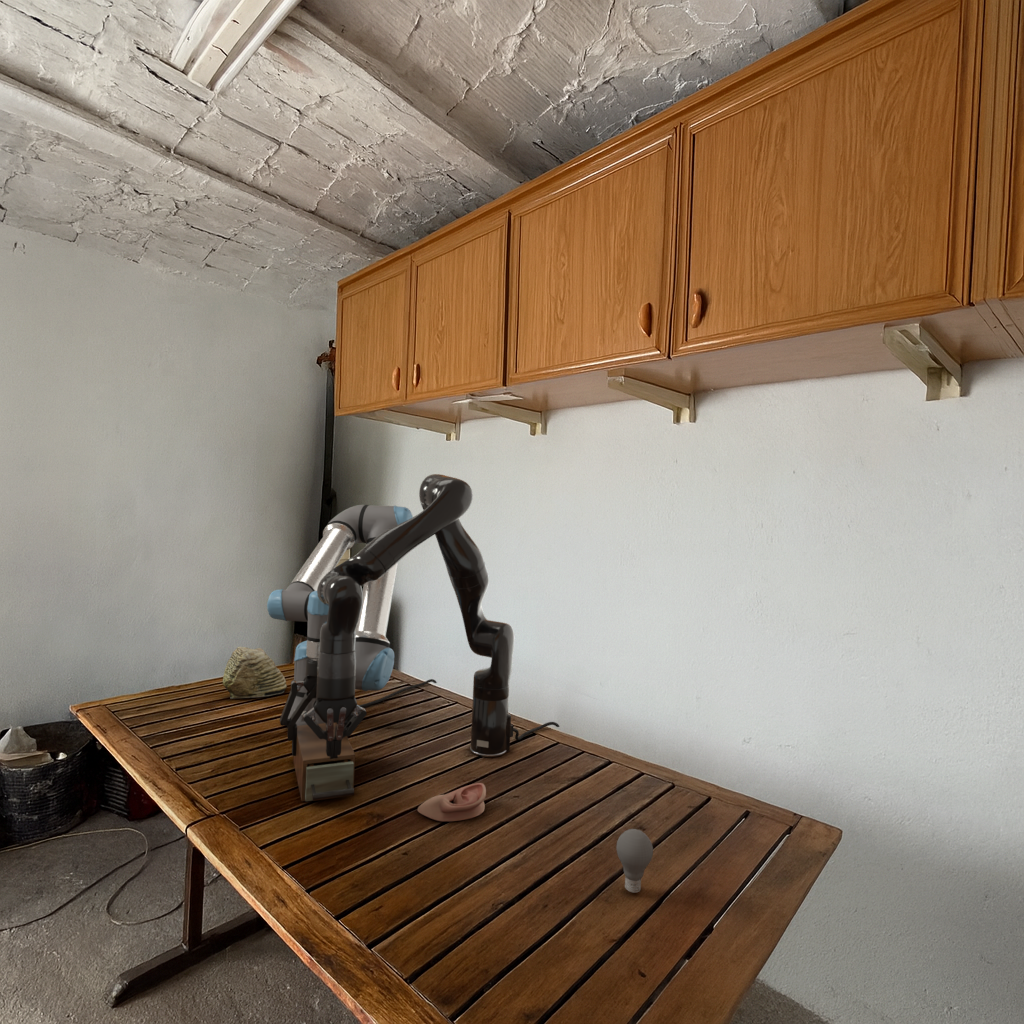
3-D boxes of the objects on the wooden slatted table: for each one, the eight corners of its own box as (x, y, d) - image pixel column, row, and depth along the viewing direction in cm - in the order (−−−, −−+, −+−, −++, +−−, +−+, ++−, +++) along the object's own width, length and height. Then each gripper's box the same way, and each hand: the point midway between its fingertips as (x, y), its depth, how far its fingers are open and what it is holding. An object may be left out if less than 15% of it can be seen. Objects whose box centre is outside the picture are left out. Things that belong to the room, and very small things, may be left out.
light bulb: (610, 879, 108) (613, 822, 108) (644, 879, 109) (647, 822, 109) (619, 902, 102) (622, 840, 102) (655, 901, 103) (658, 840, 103)
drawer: (357, 807, 128) (358, 774, 128) (308, 814, 124) (309, 781, 124) (339, 758, 151) (340, 730, 151) (297, 763, 147) (298, 735, 147)
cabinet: (353, 794, 136) (355, 754, 135) (301, 801, 131) (303, 760, 131) (339, 756, 155) (340, 721, 154) (293, 762, 150) (294, 726, 150)
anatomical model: (412, 797, 126) (431, 773, 138) (411, 817, 126) (430, 791, 138) (476, 807, 124) (490, 781, 135) (476, 827, 124) (489, 800, 135)
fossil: (218, 695, 195) (220, 647, 195) (278, 685, 208) (279, 640, 207) (228, 703, 189) (230, 653, 188) (289, 692, 201) (290, 645, 201)
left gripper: (270, 664, 140) (267, 763, 140) (375, 658, 149) (372, 751, 150) (269, 656, 147) (265, 750, 147) (369, 650, 156) (366, 739, 156)
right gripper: (304, 679, 122) (300, 769, 122) (373, 675, 127) (369, 760, 128) (300, 669, 129) (297, 754, 129) (366, 665, 134) (362, 746, 134)
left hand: (319, 750), depth 148 cm, fingers closed on cabinet, 11 cm apart
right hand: (333, 757), depth 128 cm, fingers closed
